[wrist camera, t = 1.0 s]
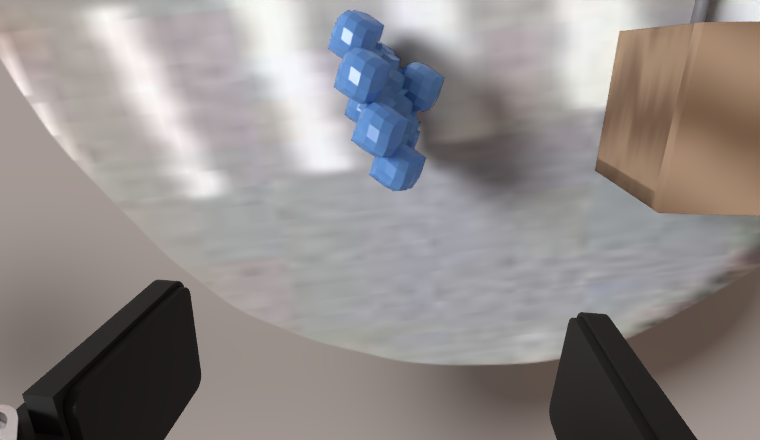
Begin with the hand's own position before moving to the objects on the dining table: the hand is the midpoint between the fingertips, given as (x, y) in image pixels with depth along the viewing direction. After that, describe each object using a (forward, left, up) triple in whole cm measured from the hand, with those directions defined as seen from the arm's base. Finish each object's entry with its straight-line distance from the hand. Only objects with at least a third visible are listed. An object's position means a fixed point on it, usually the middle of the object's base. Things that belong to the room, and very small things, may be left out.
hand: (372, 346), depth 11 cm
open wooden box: (-3, +19, -26) cm, 32 cm away
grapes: (-4, -1, -26) cm, 26 cm away
